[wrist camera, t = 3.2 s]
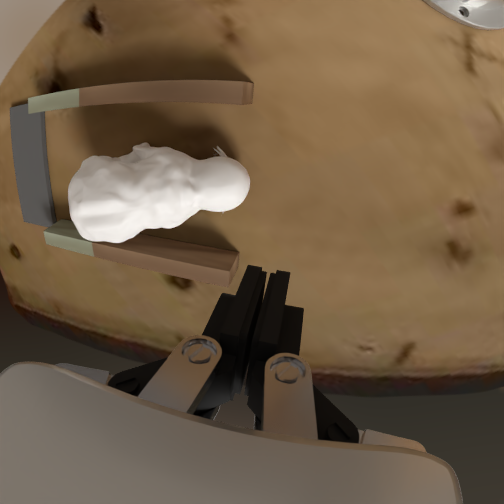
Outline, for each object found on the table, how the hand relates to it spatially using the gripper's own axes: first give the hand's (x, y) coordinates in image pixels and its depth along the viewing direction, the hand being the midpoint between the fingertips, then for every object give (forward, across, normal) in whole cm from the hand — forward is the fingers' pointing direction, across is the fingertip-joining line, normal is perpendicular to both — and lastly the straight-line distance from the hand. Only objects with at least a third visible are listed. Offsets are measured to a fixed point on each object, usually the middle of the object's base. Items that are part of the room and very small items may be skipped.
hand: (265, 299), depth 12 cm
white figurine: (+12, +8, -1) cm, 15 cm away
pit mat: (+12, +28, -1) cm, 30 cm away
